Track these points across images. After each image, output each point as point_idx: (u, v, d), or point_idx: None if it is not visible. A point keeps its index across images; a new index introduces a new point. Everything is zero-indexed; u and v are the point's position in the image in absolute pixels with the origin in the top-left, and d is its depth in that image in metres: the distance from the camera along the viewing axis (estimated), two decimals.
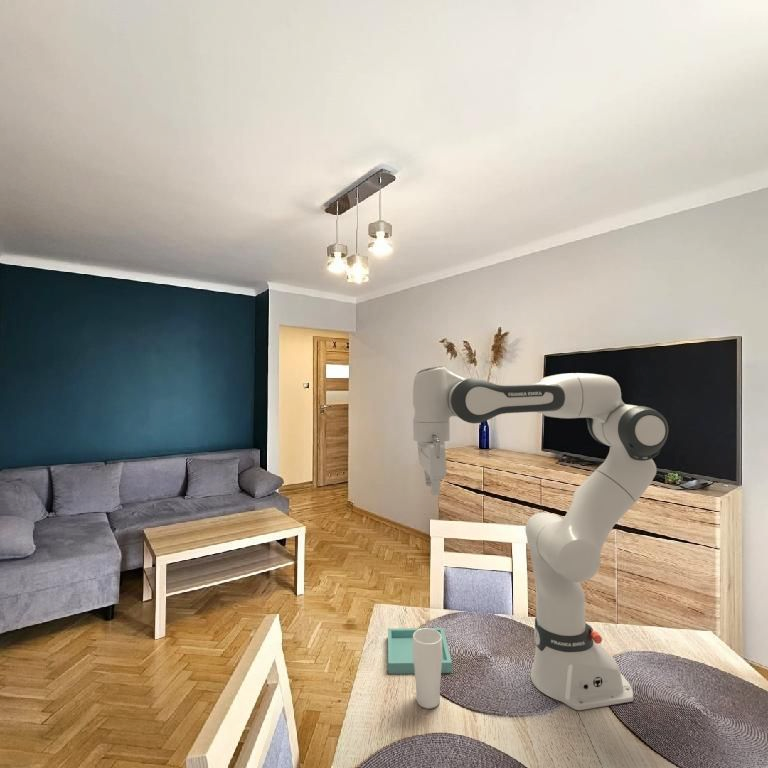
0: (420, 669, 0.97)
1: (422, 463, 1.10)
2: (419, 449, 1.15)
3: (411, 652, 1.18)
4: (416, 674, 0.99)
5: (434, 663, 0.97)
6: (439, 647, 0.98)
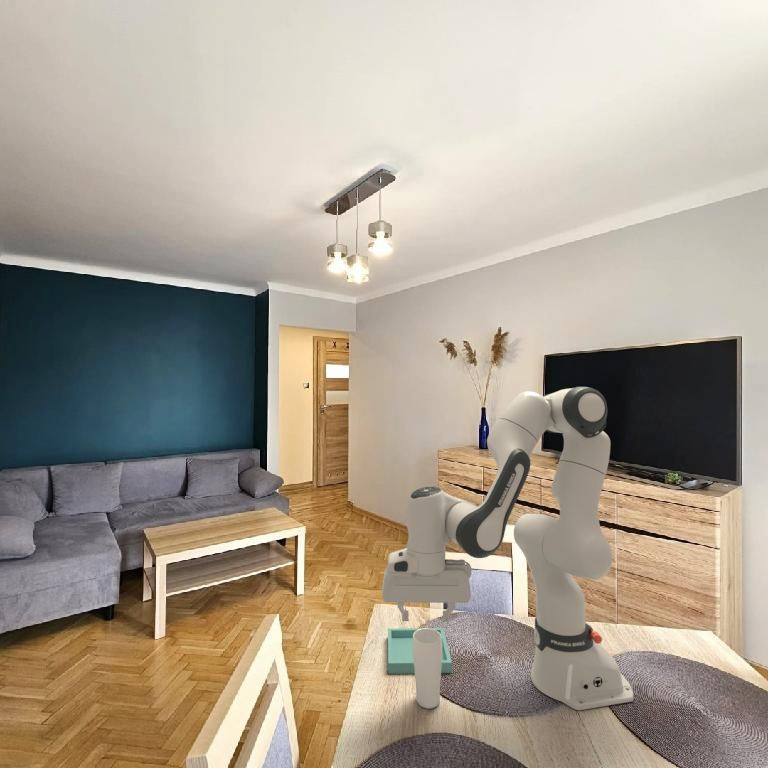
0: (420, 669, 0.97)
1: (410, 597, 0.98)
2: (390, 584, 0.98)
3: (411, 652, 1.18)
4: (416, 674, 0.99)
5: (434, 663, 0.97)
6: (439, 647, 0.98)
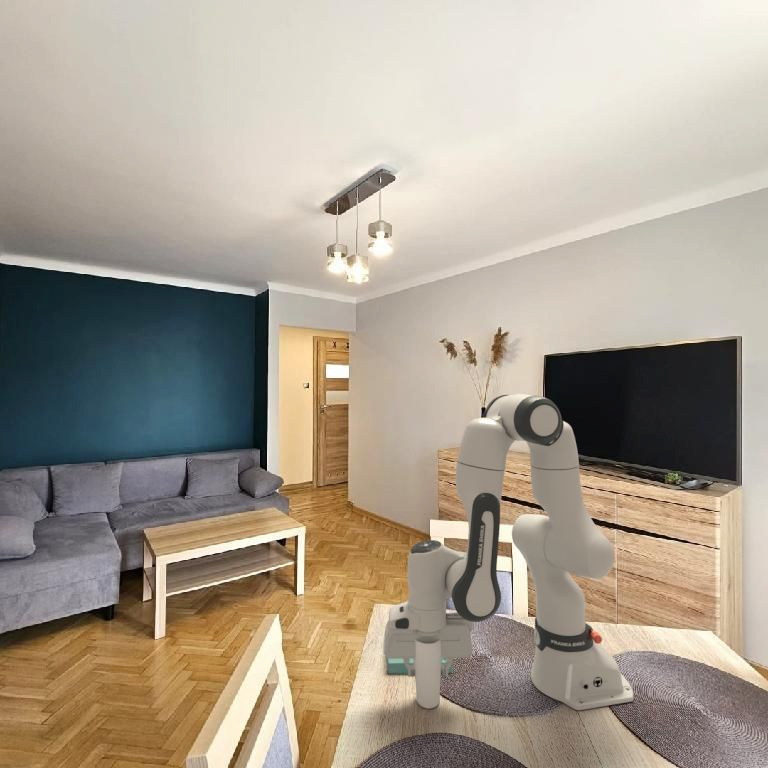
0: (420, 669, 0.97)
1: (412, 653, 0.98)
2: (392, 641, 0.98)
3: None
4: (416, 674, 0.99)
5: (434, 663, 0.97)
6: (439, 647, 0.98)
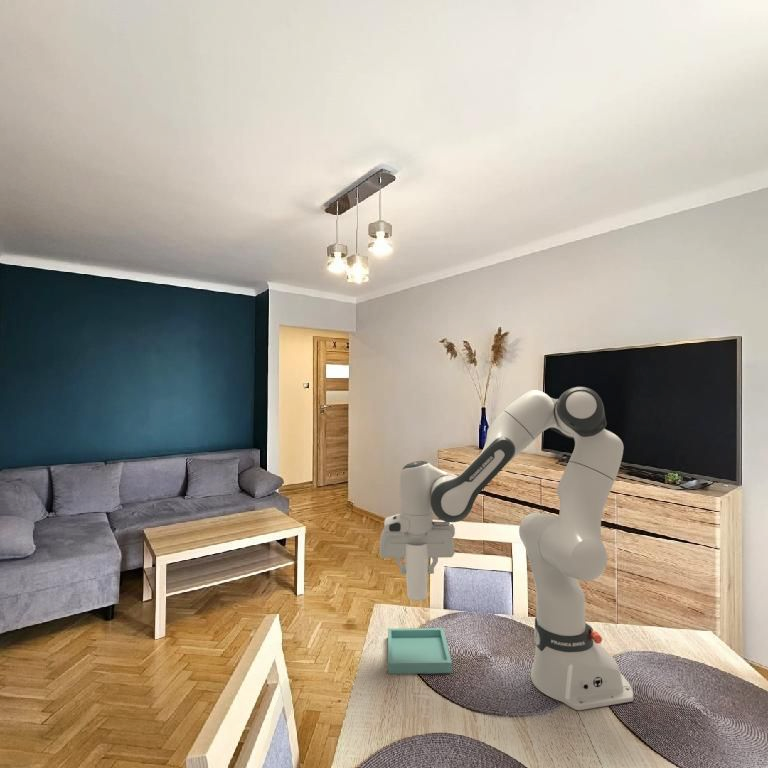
0: (410, 567, 1.16)
1: (403, 553, 1.16)
2: (386, 543, 1.16)
3: (411, 652, 1.18)
4: (407, 573, 1.17)
5: (422, 562, 1.15)
6: (425, 549, 1.16)
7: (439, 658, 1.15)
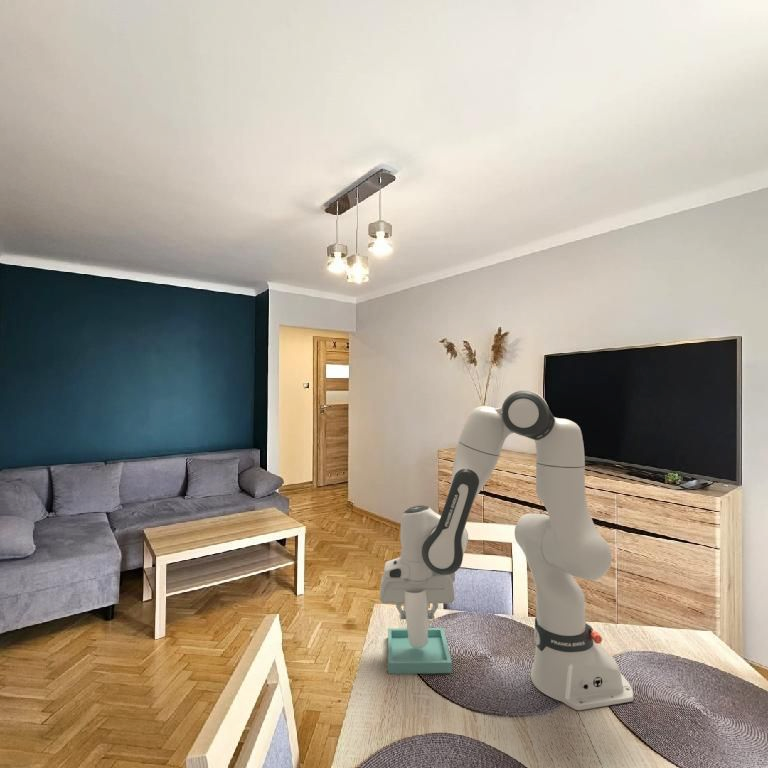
0: (410, 614, 1.15)
1: (403, 599, 1.16)
2: (386, 588, 1.16)
3: (411, 652, 1.18)
4: (407, 620, 1.17)
5: (421, 609, 1.15)
6: (424, 595, 1.16)
7: (439, 658, 1.15)
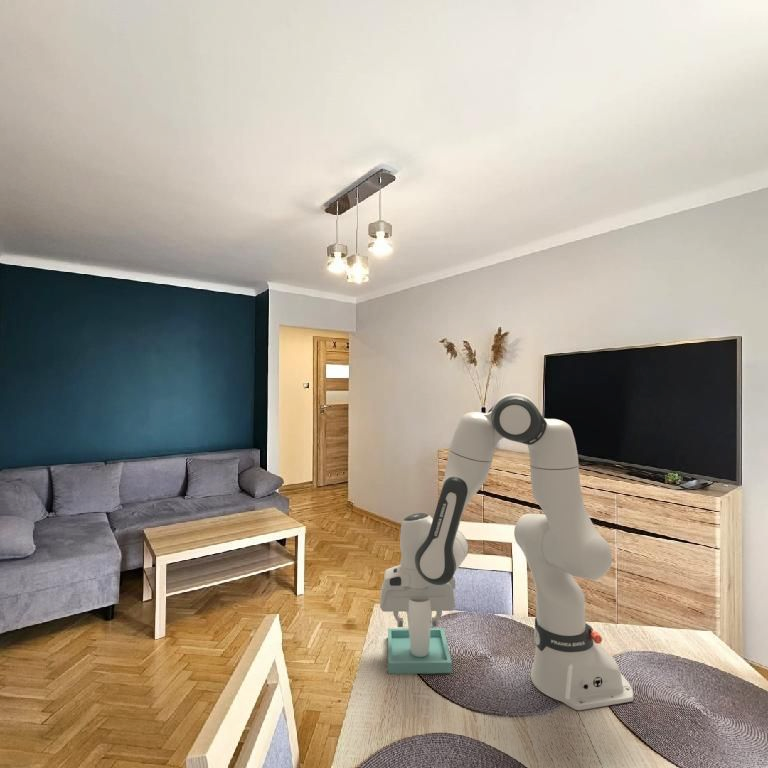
0: (413, 623, 1.15)
1: (404, 607, 1.16)
2: (387, 596, 1.16)
3: None
4: (409, 628, 1.16)
5: (425, 618, 1.15)
6: (428, 605, 1.16)
7: (439, 658, 1.15)
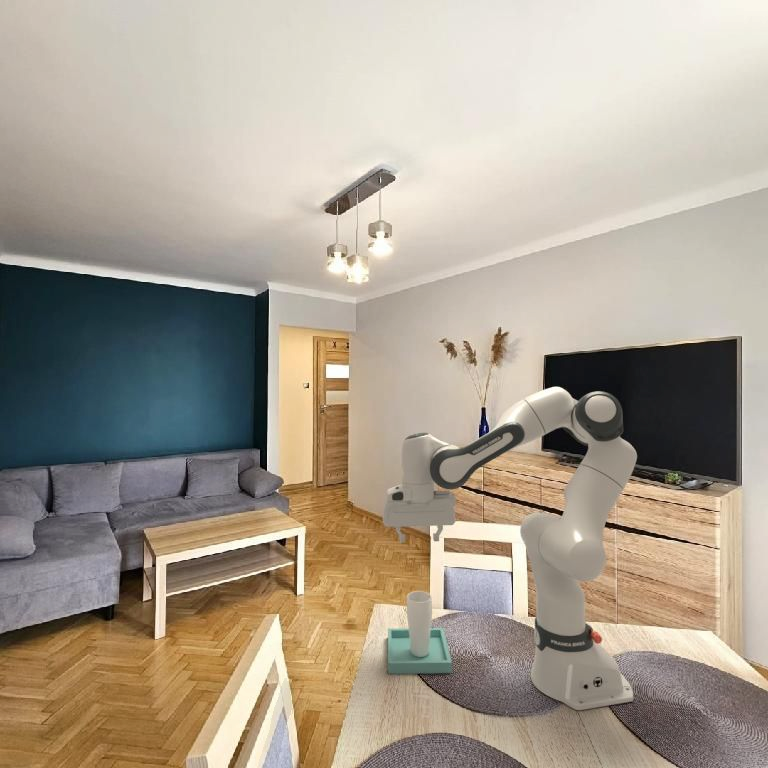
0: (413, 623, 1.15)
1: (406, 522, 1.20)
2: (389, 512, 1.20)
3: None
4: (409, 628, 1.16)
5: (425, 618, 1.15)
6: (429, 605, 1.16)
7: (439, 658, 1.15)
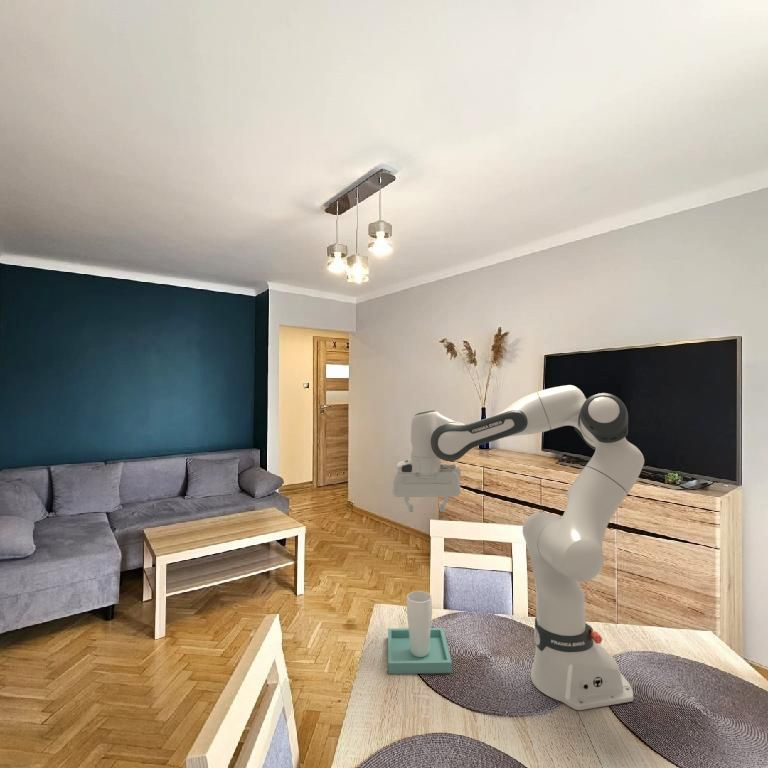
0: (413, 623, 1.15)
1: (414, 493, 1.29)
2: (399, 483, 1.29)
3: None
4: (409, 628, 1.16)
5: (425, 618, 1.15)
6: (429, 605, 1.16)
7: (439, 658, 1.15)
